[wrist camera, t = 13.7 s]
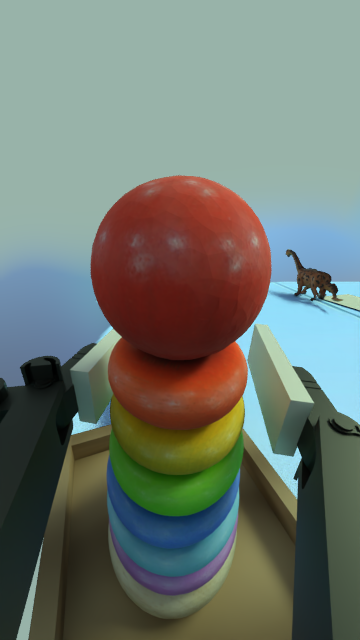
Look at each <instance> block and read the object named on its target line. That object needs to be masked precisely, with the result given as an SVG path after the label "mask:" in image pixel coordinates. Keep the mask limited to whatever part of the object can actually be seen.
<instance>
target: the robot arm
mask: <svg viewBox="0 0 360 640" xmlns="http://www.w3.org/2000/svg"><path fill="white" fill-rule="evenodd" d="M120 338H121V336H120V335H119V334H118V333H117V332H116V331H115V330H114V329H112V330H111V331H110V332H109V333H108V334H107V335H106V336H105V337H104V338H103V339H102V340H101V341H100V342H99V343H98V344H95V343H92V344H90V345H87V346H85V347H83V348H82V349H81V350H80V351H78V352H77V354H75V355H74V356H73V357H72V358H71V359H69V360H68V361H67V362H66V363H65V364H64V365H63V366H61V365H60V360H59V359H58V358H57V357H53V356H43V357H38V358H35V359H32V360H29V361H28V362H26V363H24V364H23V365H22V366H21V367H20V369H21V372H22V375H23V378H24V382H25V386H17V387H16V386H15V387H7V385H6V383H5V381H4V380H3V379H2V378H0V640H16V638H17V634H18V630H19V626H20V623H21V619H22V616H23V612H24V608H25V604H26V601H27V597H28V593H29V590H30V586H31V582H32V578H33V575H34V571H35V567H36V564H37V560H38V556H39V552H40V549H41V545H42V541H43V537H44V534H45V530H46V526H47V523H48V519H49V515H50V511H51V508H52V504H53V500H54V497H55V493H56V489H57V485H58V482H59V478H60V474H61V470H62V467H63V463H64V459H65V456H66V452H67V448H68V444H69V441H70V437H71V433H72V430H73V420H72V419H73V417H74V416H75V415H76V413H77V412H78V414H79V419H80V421H82V422H88V423H94V424H96V423H97V422H98V420H99V418H100V417H101V415H102V413H103V412H104V410H105V409H106V407H107V405H108V404H109V402H110V400H111V399H112V396H113V391H112V389H111V386H110V383H109V381H108V363H109V358H110V355H111V352H112V350H113V348H114V346H115V345H116V343H117V342H118V341H119V339H120ZM248 364H249V368H250V371H251V375H252V378H253V382H254V386H255V389H256V393H257V397H258V400H259V404H260V407H261V411H262V415H263V418H264V422H265V426H266V429H267V433H268V437H269V440H270V444H271V447H272V451H273V453H275V454H281V455H287V456H294V454H295V451H296V448H297V446H298V449H299V451H300V454H301V456H302V459H301V461H300V463H299V466H298V468H297V471H296V473H295V476H294V479H295V480H297V479H298V498H297V522H296V546H295V570H294V595H293V619H292V640H360V425H359V424H358V423H357V422H356V421H354V420H353V419H351V418H350V417H348V416H346V415H344V414H341V413H339V412H337V410H336V409H335V408H334V406H333V405H332V403H331V402H330V400H329V399H328V398H327V396H326V395H325V393H324V392H323V390H321V388H320V386H319V385H318V384H317V382H316V380H315V379H314V378H313V376H312V375H311V374H310V373H309V372H308V371H306V370H305V369H304V368H302V367H295V366H292V365H291V364H290V362H289V360H288V359H287V357H286V355H285V354H284V352H283V350H282V349H281V347H280V345H279V344H278V342H277V340H276V339H275V337H274V335H273V334H272V332H271V330H270V329H269V327H268V325H261V324H255V326H254V331H253V336H252V341H251V346H250V350H249V355H248Z"/></svg>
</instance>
